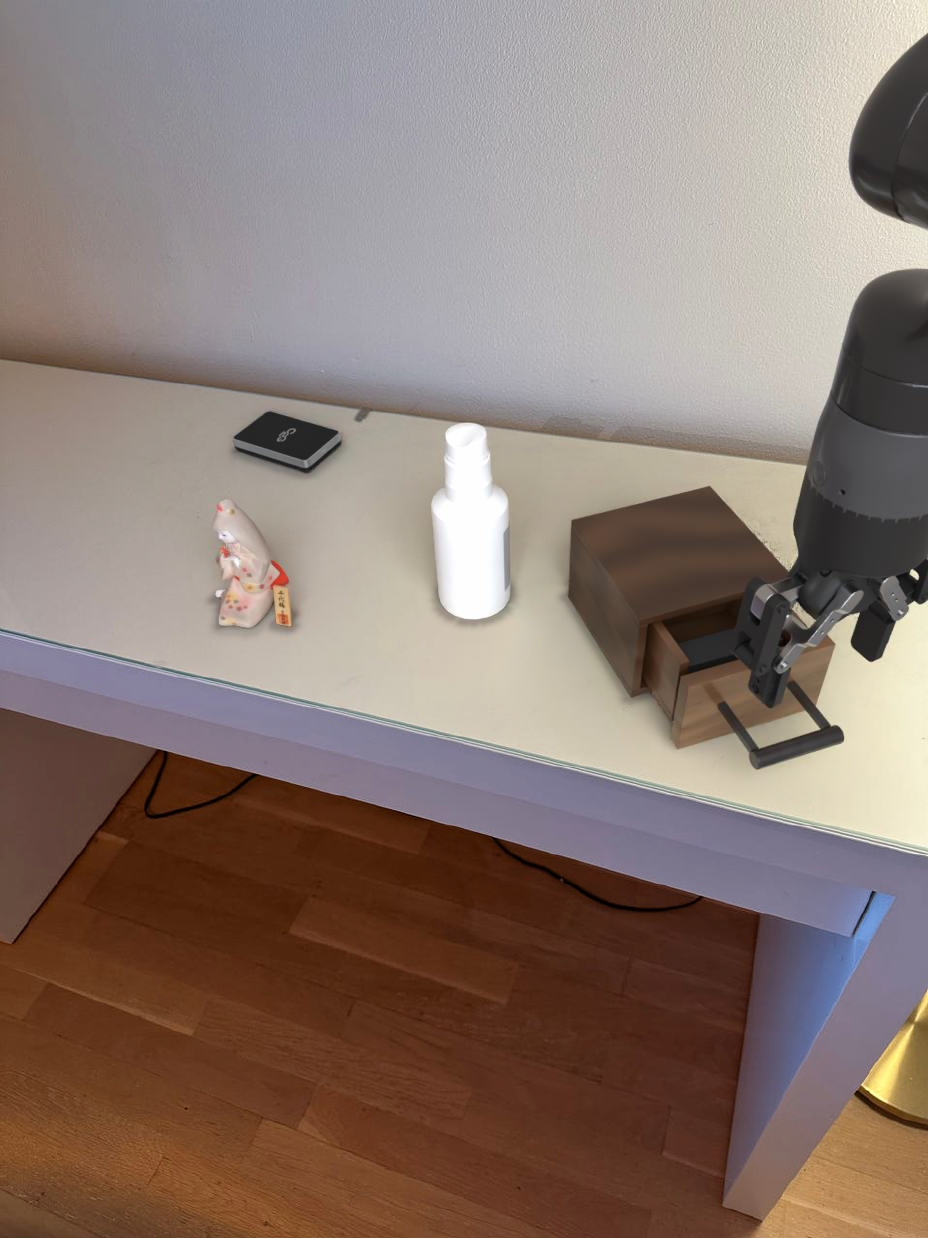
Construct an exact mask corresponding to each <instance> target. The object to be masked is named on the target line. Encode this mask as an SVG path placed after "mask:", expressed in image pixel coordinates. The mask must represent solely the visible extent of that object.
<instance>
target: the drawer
mask: <svg viewBox="0 0 928 1238" xmlns="http://www.w3.org/2000/svg"><path fill="white" fill-rule="evenodd" d="M742 600H743V598H741V599H738V600H734V601H730V602H727V603H723V604H719V605H716V606H712V607H709V608H705V609H701V610H698V611H694V612H690V613H687V614H683V615H679V616H676V617H672V618H669V619H665V620H661V621H658V622H654V623H650V624H648V628H647V636H646V644H645V653H644V661H643V669H642V678H643V679H644V681H645V682H646V684H647V685H648V687H649V688H650V690H651V691H652V692H651V693H652V695H653V696H654V698H655V700H656V701H657V702H658V704H659V706H660V707H661V709H662V710H663V711H664V713H665V714H666V716H667V718H668V719H669V721H670V722H672V727H671V734H670V740H671V742H672V744H673V745H674V746H675V748H676V749H677V750H681V749H684V748H687V747H690V746H694V745H697V744H700V743H703V742H706V741H709V740H713V739H717V738H720V737H723V736H726V735H729V734H733V733H734V734H735V735H736V736H737V738H738V740H739V741H740V742H741V744H742V745H743V746H744V748H745V749H746V750H747V752H748V761H749V762H750V765H751V766H752V768H753V769H754V770H756V771H759V770H763V769H765V768H768V767H772V766H774V765H778V764H781V763H784V762H787V761H790V760H793V759H798V758H800V757H803V756H806V755H809V754H812V753H816V752H818V751H822V750H825V749H829V748H832V747H834V746H835V747H836V746H837V745H841V744H843V743H844V742H845V733H844V731H843V729H842V727H841V726H839V725H838V724H833V725H831V723H830V722H829V721H828V719H827V718H826V717H825V716H824V714H822V712H821V711H820V710H819V708H818V707H817V704H818V701H819V699H820V698H819V697H820V695H821V693H822V692H821V691H822V688H823V686H824V683H825V680H826V677H827V673H828V671H829V667H830V663H831V660H832V657H833V654H834V651H835V648H836V642H835V641H834V640H833V639H832V638H831V636H829V635H828V634H827V635H826V636H825V637H824V639H823V640H822V641H821V642H820V643H819V644H818V645H817V646H816V647H806V648H805V649H804V651H803V652H802V653H801V654H800V655H799V657H798V658H797V659H796V660H795V661H794V663H793V664H792V665H791V666H790V667H791V672H790V675H789V679H788V682H787V686H786V689H785V693H784V696H783V700H782V703H781V704H780V705H778V706H776V707H774V708H768V707H767V706H766V705H765V704H763V703H762V702H761V701H760V700H759V699H758V698H757V697H756V696H755V695H754V694H753V693H752V692H751V691H750V690H749V688H748V683H749V680H750V679H749V678H750V676H751V675H750V674H751V671H750V670H749V669H748V668H747V667H746V666H745V665H744V664H743V663H742V662H741V661H740V660H735V661H732V662H729V663H725V664H722V665H718V666H715V667H711V668H708V669H704V670H701V671H697V672H694V673H691V674H687V673H688V667H689V659H688V658H687V657H686V655H685V654H684V652H683V651H682V650H681V648H680V647H679V645H678V643H681V642H685V641H688V640H692V639H696V638H699V637H703V636H706V635H710V634H713V633H717V632H720V631H724V630H728V629H731V628H735V626H736V622H737V619H738V615H739V611H740V608H741V604H742ZM792 613H793V615H794V617H796V618H797V619H798V620H799V621H800V622H801V623H802V624H804V625H805V626H806V627H807V628H809V627H808V625H807V624H806V622H804V621H803V620H802V618H801V617H800V615H798V614H797V613H796V612H795V610H794V609H792ZM781 637H782V638H783V644H782V647H780V648H781V649H782V650H783V649H784V648H785V647H786V645H787V644H788V643H789V642H790V640H791V635H790V633H788V632H787V631H786V630H785V629H783V630H782V633H781ZM802 712H806V713H807V714H808V715H809V717H810V718H811V719H812V720H813V722H814V723H815V724H816V726H817V727H818V728H819V729H817V730H814V731H810V732H807V733H804V734H801V735H798V736H795V737H792V738H789V739H785V740H781V741H779V742H775V743H773V744H768V745H766V746H763V747H759V746H758V744H757V743H756V742H755V740H754V739H753V738H752V736H751V735H750V733H749V732H748V730H747V729H749V728H752V727H756V726H759V725H762V724H765V723H769V722H772V721H776V720H779V719H782V718H785V717H789V716H791V715H795V714H799V713H802Z"/></svg>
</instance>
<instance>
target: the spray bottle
mask: <svg viewBox="0 0 928 1238" xmlns="http://www.w3.org/2000/svg"><path fill="white" fill-rule="evenodd" d="M444 441H445V453H444V456H443V463H444V486H443V487H441V488H440V489H439V490H437V492H436V493H435V494H434V495H433V497H432V500H431V504H430V514H431V525H432V536H433V548H434V558H435V569H436V571H435V572H436V581H437V591H438V598H439V602H440V604H441V605H442V606H443V608H444V609H445V610H446V612H448V613H449V614H451V615H453V616H454V617H457V618H461V619H464V620H481V619H486V618H487V619H488V618H490V617H492V616H495V615H497V614H498V613H499V612H501V611H502V610H503V609H504V608H505V607H506V605H507V604H508V602H509V601H510V599H511V591H512V590H511V589H512V588H511V540H510V537H511V536H510V535H511V533H510V502H509V499H508V495H507V494H506V492H505V491H504V490H503V489H502V488H501V487H500V486H499V485H496V484H494V483H493V475H492V463H491V460H492V459H491V453H490V450H489V448H488V433H487V430H486V429H485V427H484V426H482V425H481V424H479V423H474V422H459V423H456V424H453V425H452V426H450V427H449V428H447V430H446V431H445V434H444Z"/></svg>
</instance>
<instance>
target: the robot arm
mask: <svg viewBox="0 0 928 1238" xmlns="http://www.w3.org/2000/svg"><path fill="white" fill-rule="evenodd" d="M848 150H849V151H848V160H847V161H848V162H847V163H848V164H847V165H848V172H849V177H850V181H851V184H852V187H853V189H854V191H855V192H856V194H857V195H858V197H859V198H860V199H861V200H862V201H863V203H865V205H867V206H869V207H870V208H872V209H873V210H874V211H876V212H878V213H880V214H883V215H885V216H887V217H890V218H892V219H895V220H898V221H901V222H903V223H906V224H909V225H912V226H914V227H917V228H920V229H923V230H925V231H928V32H927V33H925V34H924V35H923V36H922V37H921V38H919V39H918V40H917V41H916V42H915V43H914V44H913V45H911V46H910V47H909V48H908V49H907V50H906V51H905V52H904V53H902V54H901V55H900V56H899V58H898V59H897V60H895V62H894V63H893V64H892V65H891V66H890V67H889V68H888V70H887V71H886V72H885V73H884V75H883V76H882V77H881V79H879V81H878V83H877V84H876V85H875V87H874V88H873V90H872V92H871V93H870V95H869V96H868V98H867V99H866V102H865V103H864V105H863V107H862V109H861V110H860V113H859V115H858V118H857V120H856V123H855V125H854V129H853V131H852V134H851V139H850V143H849V149H848ZM844 331H845V332H844V336H843V339H842V343H841V346H840V350H839V355H838V359H837V363H836V367H835V371H834V374H833V379H832V383H831V388H830V390H829V394H828V397H827V399H826V402H825V404H824V406H823V409H822V411H821V413H820V416H819V418H818V420H817V424H816V428H815V431H814V435H813V440H812V443H811V447H810V451H809V455H808V459H807V463H806V467H805V471H804V476H803V479H802V484H801V487H800V492H799V495H798V500H797V504H796V508H795V512H794V516H793V520H792V530H793V536H794V540H795V544H796V549H797V557H796V560H795V561H794V563H793V564H792V566H791V568H790V569H789V570H788V574H787V577H786V579H783V580H781V581H778V582H775V583H772V584H769V583H768V582H766V581H765V580H764V579H763V578H762V577H760V576H758V577H755V578H753V579H752V580H751V581H750V582H749V583H748V584H747V586H746V589H745V593H744V597H743V600H742V604H741V608H740V611H739V615H738V619H737V622H736V626H735V630H734V633H733V637H732V640H731V644H730V648H729V650H730V651H731V652H732V653H733V654H734V655H735V656H736V657H737V658H738V659H739V660H740V661H741V662H742V663H743V664H744V665H745V666H746V667H747V668H748V669H749V670H750V671H751V674H750V675H751V676H750V678H749V679H750V680H749V683H748V688H749V690H750V691H751V692H752V693H753V694H754V695H755V696H756V697H757V698H758V699H759V700H760V701H761V702H762V703H763V704H765V705H766V706H767V707H768V708H774V707H776V706H778V705H780V704H781V703H782V700H783V696H784V693H785V689H786V686H787V682H788V679H789V675H790V672H791V667H790V666H791V665H792V664H793V663H794V661H795V660H796V659H797V658H798V657H799V655H800V654H801V653H802V652H803V651H804V649H805V648H806V647H816V646H817V645H818V644H819V643H820V642H821V641H822V640H823V639H824V637H825V636H826V635H828V634H829V633H830V631H832V629H833V628H834V627H835V625H836V624H837V623H839V622H841V621H842V620H844V619H846V618H848V616H851V615H856V614H858V616H857V620H856V623H855V626H854V629H853V631H852V635H851V637H850V645H851V648H852V649H853V650H854V651H855V652H857V653H858V654H859V655H860V656H861V657H863V658H864V659H865V660H866V661H867V662H869V663H873V662H876V661H878V660H879V659H882V658H883V656H884V653H885V650H886V647H887V645H888V643H889V641H890V639H891V636H892V633H893V631H894V628H895V626H896V623H897V622H898V621H901V620H902V619H903V618H904V617H905V616H906V615H907V614H908V613H909V611H910V607H909V606H910V605H911V604H912V603H914V602H915V603H916V604H917V605H923V604H925V603H926V602H927V601H928V268H919V267H917V268H916V267H915V268H903V269H897V270H892V271H889V272H887V273H884V274H883V273H882V274H881V275H878V276H876V277H875V278H873V279H872V280H870V281H869V282H868V283H866V285H865V286H864V287H863V288H862V289H861V291H860V292H859V294H858V295H857V297H856V299H855V300H854V303H853V305H852V308H851V311H850V313H849V316H848V320H847V323H846V328H845V330H844ZM912 570H913V571H914V572H915V573H917V575H918V579H917V578H916V577H915V576H913V575H912V574H911V571H912ZM796 604H798V605H799V606H800V608H801V609H802V610H803V611H804V612H805V613H806V614H808V616H810V617H811V618H812V619H813V620H814V621H813V623H812V624H811V625H810V626H809V627H808V628H807V627H806V626H805V625H804V624H802V623H801V622H800V621H799V620H798V619H797V618H796V617H794V615H793V613H792V609H793V608H794V606H795V605H796ZM793 610H794V609H793ZM783 629H785V630H786V631H787V632H788V633H790V635H791V640H790V642H789V643H788V644H787V645H786V647H785V648H784V649H783V650H782V649H781V648H780V647H779V646H778V643H779V639H780V636H781V633H782V630H783ZM751 640H753V641H751Z"/></svg>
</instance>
